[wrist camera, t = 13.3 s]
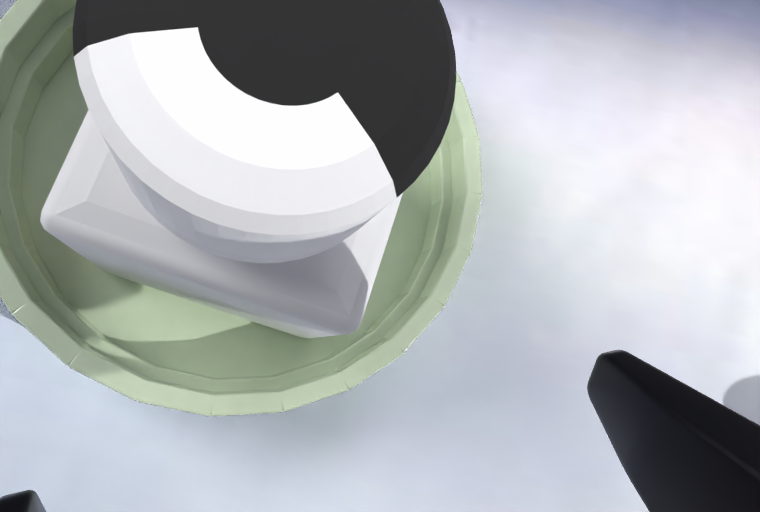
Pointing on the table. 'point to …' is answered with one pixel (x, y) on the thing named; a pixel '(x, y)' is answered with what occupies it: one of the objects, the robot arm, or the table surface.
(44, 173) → the bowl
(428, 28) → the medicine bottle
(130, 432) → the table surface
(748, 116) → the table surface
